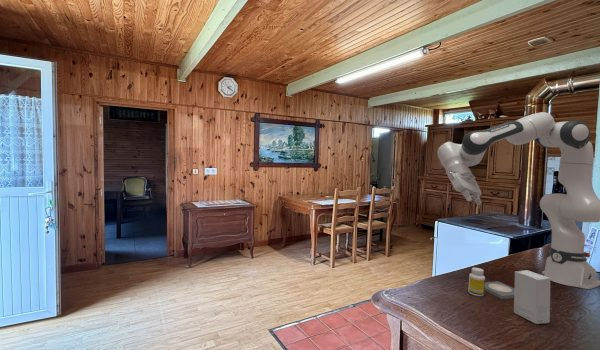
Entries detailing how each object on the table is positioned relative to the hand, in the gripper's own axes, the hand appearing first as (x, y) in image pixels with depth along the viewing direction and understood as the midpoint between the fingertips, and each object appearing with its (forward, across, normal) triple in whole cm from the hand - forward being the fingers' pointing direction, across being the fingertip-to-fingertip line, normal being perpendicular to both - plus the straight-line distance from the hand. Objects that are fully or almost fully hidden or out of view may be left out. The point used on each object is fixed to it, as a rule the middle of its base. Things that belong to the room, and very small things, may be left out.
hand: (474, 202), depth 125 cm
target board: (+33, +12, +11) cm, 37 cm away
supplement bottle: (+32, +1, +16) cm, 36 cm away
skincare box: (+44, -4, +1) cm, 44 cm away
